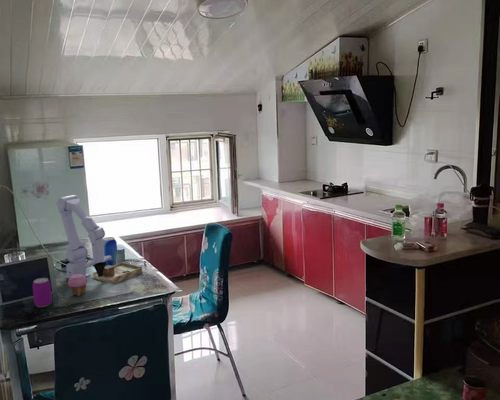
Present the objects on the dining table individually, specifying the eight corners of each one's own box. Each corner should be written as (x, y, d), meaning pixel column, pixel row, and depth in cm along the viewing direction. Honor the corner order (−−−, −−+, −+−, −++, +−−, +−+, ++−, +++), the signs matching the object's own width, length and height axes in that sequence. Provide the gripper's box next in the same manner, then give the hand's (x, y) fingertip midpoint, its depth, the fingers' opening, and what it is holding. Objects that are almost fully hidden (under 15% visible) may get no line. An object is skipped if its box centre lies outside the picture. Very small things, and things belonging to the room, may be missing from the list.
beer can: (109, 268, 281) (107, 241, 278) (100, 266, 286) (97, 239, 283) (121, 264, 288) (119, 237, 285) (112, 262, 293) (109, 235, 290)
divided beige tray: (113, 283, 258) (112, 277, 257) (93, 277, 267) (93, 271, 267) (142, 272, 273) (141, 266, 273) (122, 267, 283) (122, 261, 282)
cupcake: (79, 298, 239) (77, 278, 237) (65, 296, 243) (63, 276, 241) (92, 292, 247) (90, 272, 245) (78, 289, 251) (76, 270, 249)
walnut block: (107, 277, 262) (107, 269, 261) (102, 275, 264) (101, 267, 264) (114, 274, 265) (113, 266, 265) (109, 273, 268) (108, 265, 267)
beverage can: (55, 301, 237) (52, 277, 235) (48, 307, 229) (45, 283, 227) (39, 301, 237) (36, 277, 235) (31, 308, 230) (28, 283, 227)
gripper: (91, 256, 250) (93, 281, 253) (114, 248, 261) (116, 273, 264) (82, 253, 254) (84, 279, 257) (105, 246, 266) (107, 271, 268)
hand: (100, 276), depth 261 cm, fingers closed
